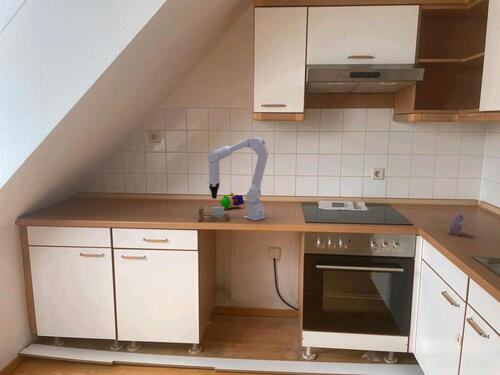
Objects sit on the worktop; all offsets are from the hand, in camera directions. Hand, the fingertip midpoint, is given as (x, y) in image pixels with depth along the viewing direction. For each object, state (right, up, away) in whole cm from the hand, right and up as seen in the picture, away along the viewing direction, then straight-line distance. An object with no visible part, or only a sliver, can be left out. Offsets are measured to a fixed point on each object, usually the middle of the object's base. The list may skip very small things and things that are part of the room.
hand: (214, 197), depth 208 cm
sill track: (+1, -12, -8) cm, 15 cm away
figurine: (+116, -17, -34) cm, 122 cm away
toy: (+9, -8, +19) cm, 22 cm away
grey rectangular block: (+3, -11, -8) cm, 14 cm away
